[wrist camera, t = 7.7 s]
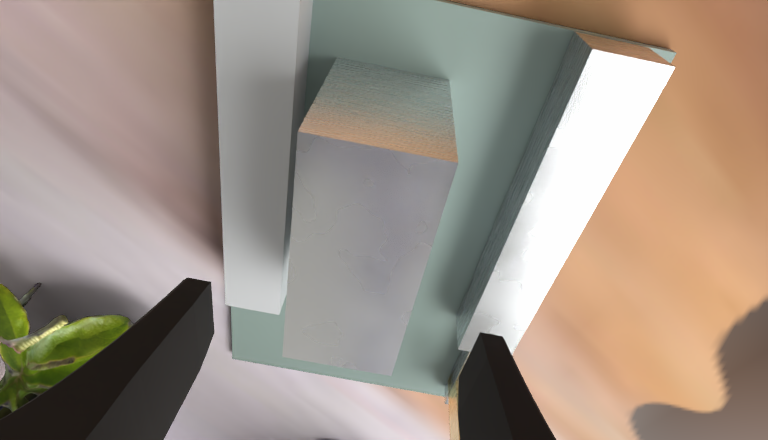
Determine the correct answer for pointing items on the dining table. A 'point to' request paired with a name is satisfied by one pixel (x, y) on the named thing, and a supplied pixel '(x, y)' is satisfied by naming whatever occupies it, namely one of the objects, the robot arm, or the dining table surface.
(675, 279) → the dining table surface
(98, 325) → the green leafy plant
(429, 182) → the steel block
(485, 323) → the block
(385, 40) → the vise base
